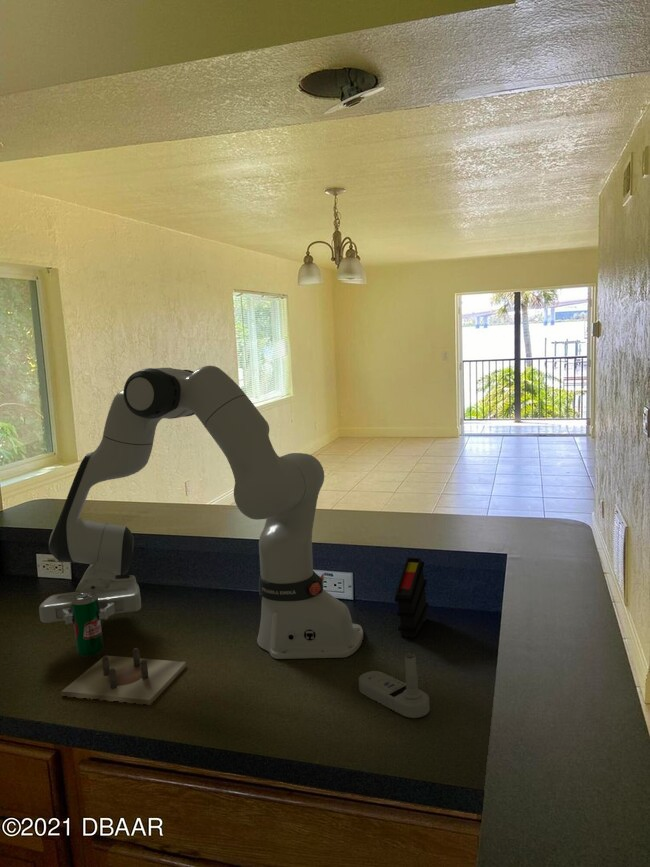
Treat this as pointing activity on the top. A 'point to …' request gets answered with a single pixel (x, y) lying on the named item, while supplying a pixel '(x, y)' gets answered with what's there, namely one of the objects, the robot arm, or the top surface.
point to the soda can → (87, 623)
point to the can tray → (125, 679)
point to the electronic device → (397, 690)
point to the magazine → (411, 597)
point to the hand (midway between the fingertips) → (85, 618)
